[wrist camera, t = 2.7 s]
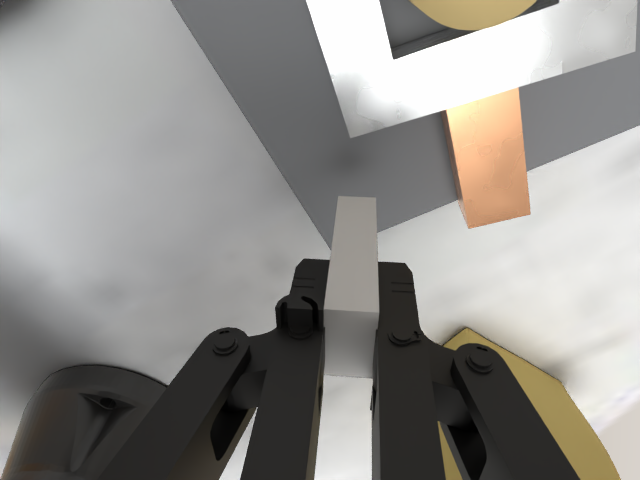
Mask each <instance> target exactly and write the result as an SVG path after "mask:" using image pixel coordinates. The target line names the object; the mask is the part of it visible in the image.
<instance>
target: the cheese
mask: <svg viewBox="0 0 640 480" xmlns="http://www.w3.org/2000/svg"><path fill="white" fill-rule="evenodd" d="M467 343H479V344H482V345H486V346H489V347H490V348H492V349H493V350H495V351H497V352H498V353H499V354H500V356H501V357H502V358H503V359H504V360H505V362H506V364H507V365H508V367H509V368H510V370H511V371H512V373H513V374H514V376H515V378H516V379H517V381H518V382H519V384H520V385H521V387H522V389H523V390H524V392H525V393H526V395H527V396H528V398H529V400H530V401H531V403H532V404H533V406H534V407H535V409H536V411H537V412H538V414H539V415H540V417H541V418H542V420H543V422H544V423H545V425H546V426H547V428H548V429H549V431H550V432H551V434H552V436H553V437H554V439H555V440H556V442H557V443H558V445H559V447H560V448H561V450H562V451H563V453H564V454H565V456H566V458H567V459H568V461H569V462H570V464H571V465H572V467H573V469H574V470H575V472H576V473H577V475H578V476H579V478H580V479H581V480H621V479H620V477H619V474H618V472H617V470H616V468H615V466H614V464H613V462H612V460H611V458H610V456H609V454H608V453H607V451H606V449H605V448H604V446H603V444H602V443H601V441H600V439H599V438H598V436H597V435H596V433H595V432H594V430H593V429H592V427H591V426H590V424H589V423H588V422H587V420H586V419H585V417H584V416H583V414H582V413H581V412H580V410H579V409H578V407H577V406H576V405H575V403H574V402H573V400H572V399H571V397H570V396H569V394H568V393H567V391H566V389H565V388H564V386H563V385H562V383H561V382H560V381H558V380H557V379H555V378H553V377H551V376H550V375H548V374H546V373H545V372H543V371H541V370H540V369H538V368H536V367H535V366H533V365H531V364H530V363H528V362H526V361H525V360H523V359H521V358H519V357H517V356H516V355H514V354H512V353H510V352H508V351H507V350H505V349H503V348H501V347H499V346H497V345H495V344H494V343H492V342H490V341H488V340H486V339H485V338H483V337H482V336H480V335H478V334H477V333H475V332H473V331H472V330H470V329H468V328H466V329H464V330H463V331H461V332H460V333H459V334H457V335H456V336H455V337H453V338H452V339H451V340H450V341H448V342H447V343H446V344H445V345H444V346H443V347H446V348H450V349H453V350H456V349H457V348H458V347H460V346H461V345H464V344H467ZM438 427H439V434H440V441H441V448H442V455H443V462H444V469H445V475H446V480H462V477H461V475H460V472H459V470H458V467H457V465H456V463H455V460H454V458H453V455H452V453H451V450H450V448H449V446H448V443H447V441H446V438H445V436H444V433H443V431H442V429H441V426H440V422H439V421H438Z"/></svg>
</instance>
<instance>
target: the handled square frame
mask: <svg viewBox="0 0 640 480" xmlns="http://www.w3.org/2000/svg"><path fill="white" fill-rule="evenodd" d="M307 3H308V6H309V10H310V13H311V16H312V19H313V22H314V25H315V29H316V32H317V35H318V38H319V41H320V44H321V48H322V51H323V54H324V57H325V60H326V63H327V66H328V70H329V73H330V76H331V79H332V82H333V85H334V89H335V92H336V95H337V98H338V101H339V104H340V108H341V111H342V114H343V117H344V120H345V123H346V126H347V130H348V133H349V136H350V138H353V137H356V136H360V135H363V134H366V133H370V132H373V131H376V130H379V129H383V128H386V127H389V126H393V125H396V124H399V123H402V122H406V121H409V120H412V119H416V118H419V117H422V116H425V115H429V114H432V113H435V112H439V111H441V117H442V122H443V127H444V132H445V137H446V142H447V147H448V152H449V158H450V163H451V168H452V173H453V178H454V183H455V188H456V193H457V199H458V204H459V206H460V209H461V211H462V214H463V216H464V219H465V221H466V224H467V226H468V228H469V229H470V228H474V227H478V226H483V225H487V224H491V223H495V222H500V221H504V220H508V219H513V218H517V217H521V216H525V215H530V203H529V193H528V183H527V172H526V162H525V151H524V141H523V131H522V120H521V110H520V100H519V89H518V87H521V86H524V85H527V84H530V83H534V82H537V81H540V80H544V79H547V78H550V77H553V76H557V75H560V74H563V73H567V72H570V71H573V70H576V69H580V68H583V67H586V66H590V65H593V64H596V63H599V62H603V61H606V60H609V59H612V58H616V57H619V56H622V55H626V54H629V53H632V52H635V47H636V23H637V0H537V1H536V2H535V3H534V4H533V5H532V6H530V7H529V8H528V9H526V10H525V11H524V12H522V13H521V14H519V15H518V16H516V17H514V18H513V19H511V20H509V21H507V22H505V23H502V24H500V25H497V26H494V27H491V28H486V29H481V30H459V29H454V28H449V29H446V30H444V31H441V32H438V33H435V34H432V35H429V36H426V37H424V38H421V39H418V40H415V41H412V42H409V43H406V44H404V45H401V46H398V47H395V48H392V49H390V46H389V42H388V37H387V33H386V29H385V25H384V21H383V16H382V12H381V8H380V4H379V0H307Z"/></svg>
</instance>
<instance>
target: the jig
mask: <svg viewBox="0 0 640 480" xmlns="http://www.w3.org/2000/svg"><path fill="white" fill-rule="evenodd" d="M536 1H537V0H379V4H380V8H381V12H382V16H383V21H384V25H385V29H386V33H387V37H388V42H389V46H390V49H392V48H395V47H398V46H401V45H404V44H406V43H409V42H412V41H415V40H418V39H421V38H424V37H426V36H429V35H432V34H435V33H438V32H441V31H444V30H446V29H449V28H454V29H459V30H481V29H486V28H491V27H494V26H497V25H500V24H502V23H505V22H507V21H509V20H511V19H513V18H514V17H516V16H518V15H519V14H521V13H522V12H524V11H525V10H526V9H528V8H529V7H530V6H532V5H533V4H534V3H535V2H536ZM171 2H172V3H173V5H174V7H175V8H176V10H177V11H178V13H179V14H180V16H181V17H182V19H183V21H184V22H185V24H186V25H187V27H188V28H189V30H190V31H191V33H192V35H193V36H194V38H195V39H196V41H197V42H198V44H199V46H200V47H201V49H202V50H203V52H204V53H205V55H206V56H207V58H208V60H209V61H210V63H211V64H212V66H213V67H214V69H215V70H216V72H217V74H218V75H219V77H220V78H221V80H222V81H223V83H224V84H225V86H226V88H227V89H228V91H229V92H230V94H231V95H232V97H233V98H234V100H235V102H236V103H237V105H238V106H239V108H240V109H241V111H242V113H243V114H244V116H245V117H246V119H247V120H248V122H249V123H250V125H251V127H252V128H253V130H254V131H255V133H256V134H257V136H258V137H259V139H260V141H261V142H262V144H263V145H264V147H265V148H266V150H267V151H268V153H269V155H270V156H271V158H272V159H273V161H274V162H275V164H276V165H277V167H278V169H279V170H280V172H281V173H282V175H283V176H284V178H285V180H286V181H287V183H288V184H289V186H290V187H291V189H292V190H293V192H294V194H295V195H296V197H297V198H298V200H299V201H300V203H301V204H302V206H303V208H304V209H305V211H306V212H307V214H308V215H309V217H310V218H311V220H312V222H313V223H314V225H315V226H316V228H317V229H318V231H319V233H320V234H321V236H322V237H323V239H324V240H325V242H326V243H327V245H328V247H329V248H330V250H331V248H332V241H333V233H334V225H335V217H336V210H337V202H338V196H351V197H375V198H376V217H377V233H378V232H380V231H383V230H385V229H388V228H390V227H393V226H395V225H397V224H400V223H402V222H405V221H407V220H410V219H412V218H415V217H417V216H419V215H422V214H424V213H427V212H429V211H432V210H434V209H436V208H439V207H441V206H444V205H446V204H449V203H451V202H454V201H456V200H458V199H457V193H456V188H455V183H454V178H453V173H452V168H451V163H450V158H449V152H448V147H447V142H446V137H445V132H444V127H443V122H442V117H441V111H439V112H435V113H432V114H429V115H425V116H422V117H419V118H416V119H412V120H409V121H406V122H402V123H399V124H396V125H393V126H389V127H386V128H383V129H379V130H376V131H373V132H370V133H366V134H363V135H360V136H356V137H353V138H350V136H349V133H348V130H347V126H346V123H345V120H344V117H343V114H342V111H341V108H340V104H339V101H338V98H337V95H336V92H335V89H334V85H333V82H332V79H331V76H330V73H329V70H328V66H327V63H326V60H325V57H324V54H323V51H322V48H321V44H320V41H319V38H318V35H317V32H316V29H315V25H314V22H313V19H312V16H311V13H310V10H309V6H308V3H307V0H171ZM518 89H519V100H520V110H521V120H522V131H523V141H524V151H525V162H526V172H527V171H529V170H532V169H534V168H536V167H539V166H541V165H544V164H546V163H549V162H551V161H554V160H556V159H558V158H561V157H563V156H566V155H568V154H571V153H573V152H575V151H578V150H580V149H583V148H585V147H588V146H590V145H593V144H595V143H597V142H600V141H602V140H605V139H607V138H610V137H612V136H614V135H617V134H619V133H622V132H624V131H627V130H629V129H632V128H634V127H636V126H639V125H640V0H637V23H636V47H635V52H632V53H629V54H626V55H622V56H619V57H616V58H612V59H609V60H606V61H603V62H599V63H596V64H593V65H590V66H586V67H583V68H580V69H576V70H573V71H570V72H567V73H563V74H560V75H557V76H553V77H550V78H547V79H544V80H540V81H537V82H534V83H530V84H527V85H524V86H521V87H518Z"/></svg>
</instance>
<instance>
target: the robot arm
mask: <svg viewBox="0 0 640 480" xmlns="http://www.w3.org/2000/svg"><path fill="white" fill-rule="evenodd" d="M275 311H276V323H277V328H275V329H274V330H272V331H270V332H268V333H265V334H261V335H256V336H251V337H248V336H247V335H246V334H245V332H244V331H242V330H240V329H237V328H230V327H227V328H222V329H218V330H216V331H214V332H212V333H210V334H209V335H208V336H207V337H206V338H205V339H204V340H203V341H202V343H201V344H200V345H199V347H198V348H197V349H196V351H195V352H194V353H193V354H192V356H191V357H190V358H189V360H188V361H187V362H186V364H185V365H184V366H183V368H182V369H181V370H180V371H179V373H178V374H177V375H176V377H175V378H174V379H173V381H172V382H171V383H170V385H169V386H168V387H167V388H166V387H165V386H163V385H161V384H159V383H157V382H155V381H153V380H151V379H149V378H147V377H144V376H142V375H139V374H136V373H133V372H129V371H126V370H122V369H117V368H112V367H105V366H76V367H70V368H66V369H63V370H60V371H58V372H56V373H54V374H52V375H51V376H49V377H48V378H47V379H46V380H45V381H44V382H43V383H42V385H41V386H40V387H39V389H38V390H37V391H36V393H35V394H34V395H33V397H32V398H31V399H30V401H29V402H28V404H27V406H26V408H25V410H24V413H23V416H22V419H21V421H20V424H19V427H18V430H17V433H16V436H15V439H14V442H13V445H12V448H11V451H10V453H9V456H8V459H7V462H6V465H5V468H4V471H3V474H2V477H1V479H0V480H219V478H220V476H221V474H222V473H223V471H224V469H225V467H226V465H227V463H228V461H229V459H230V457H231V456H232V454H233V452H234V450H235V448H236V446H237V444H238V442H239V440H240V439H241V437H242V435H243V433H244V431H245V429H246V427H247V425H248V424H249V422H250V420H251V418H252V416H253V414H254V412H255V410H256V407H258V409H257V413H256V417H255V421H254V425H253V429H252V433H251V437H250V441H249V445H248V449H247V454H246V458H245V462H244V466H243V470H242V474H241V478H240V480H314V474H315V465H316V455H317V445H318V435H319V426H320V416H321V406H322V396H323V376H324V375H332V376H346V377H359V378H372V379H373V386H372V396H371V406H370V410H372V480H446V475H445V469H444V462H443V455H442V448H441V441H440V434H439V427H438V421H439V422H440V426H441V429H442V431H443V433H444V436H445V438H446V441H447V443H448V446H449V448H450V450H451V453H452V455H453V458H454V460H455V463H456V465H457V467H458V470H459V472H460V475H461V477H462V480H581V479H580V478H579V476H578V475H577V473H576V472H575V470H574V469H573V467H572V465H571V464H570V462H569V461H568V459H567V458H566V456H565V454H564V453H563V451H562V450H561V448H560V447H559V445H558V443H557V442H556V440H555V439H554V437H553V436H552V434H551V432H550V431H549V429H548V428H547V426H546V425H545V423H544V422H543V420H542V418H541V417H540V415H539V414H538V412H537V411H536V409H535V407H534V406H533V404H532V403H531V401H530V400H529V398H528V396H527V395H526V393H525V392H524V390H523V389H522V387H521V385H520V384H519V382H518V381H517V379H516V378H515V376H514V374H513V373H512V371H511V370H510V368H509V367H508V365H507V364H506V362H505V360H504V359H503V358H502V357H501V356H500V354H499V353H498V352H497V351H495V350H493V349H492V348H490V347H489V346H486V345H482V344H479V343H467V344H464V345H461V346H460V347H458V348H457V349H456V350H453V349H450V348H446V347H443V346H441V345H438V344H436V343H434V342H433V341H431V340H430V339H428V338H427V337H426V336H425V335H424V333H423V331H422V330H421V328H420V325H419V318H418V311H417V304H416V296H415V289H414V282H413V275H412V272H411V270H410V269H409V268H408V266H407V265H406V264H405V263H394V262H378V252H377V217H376V198H375V197H351V196H338V202H337V210H336V217H335V225H334V233H333V241H332V248H331V256H330V260H320V259H303V260H302V261H301V262H300V263H299V264H298V266H297V267H296V269H295V273H294V278H293V282H292V287H291V290H290V294H289V295H287V296H285V297H283V298H282V299H281V300H279V301H278V303H277V305H276V307H275Z"/></svg>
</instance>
